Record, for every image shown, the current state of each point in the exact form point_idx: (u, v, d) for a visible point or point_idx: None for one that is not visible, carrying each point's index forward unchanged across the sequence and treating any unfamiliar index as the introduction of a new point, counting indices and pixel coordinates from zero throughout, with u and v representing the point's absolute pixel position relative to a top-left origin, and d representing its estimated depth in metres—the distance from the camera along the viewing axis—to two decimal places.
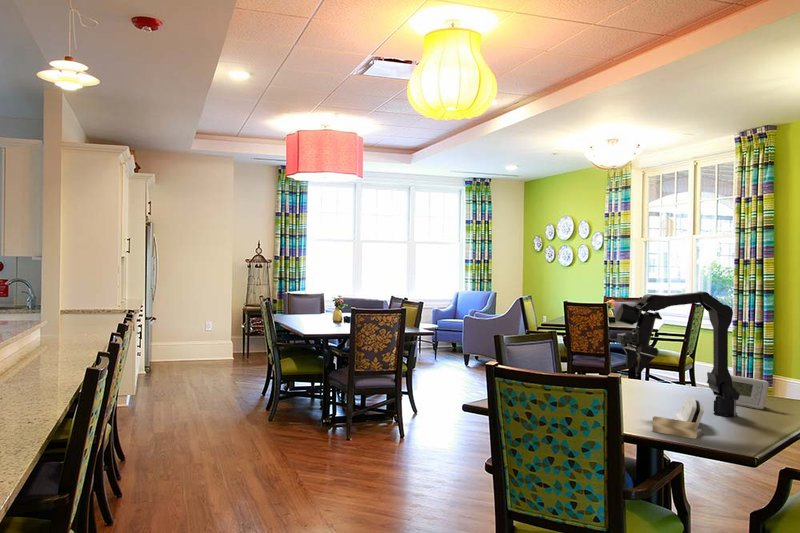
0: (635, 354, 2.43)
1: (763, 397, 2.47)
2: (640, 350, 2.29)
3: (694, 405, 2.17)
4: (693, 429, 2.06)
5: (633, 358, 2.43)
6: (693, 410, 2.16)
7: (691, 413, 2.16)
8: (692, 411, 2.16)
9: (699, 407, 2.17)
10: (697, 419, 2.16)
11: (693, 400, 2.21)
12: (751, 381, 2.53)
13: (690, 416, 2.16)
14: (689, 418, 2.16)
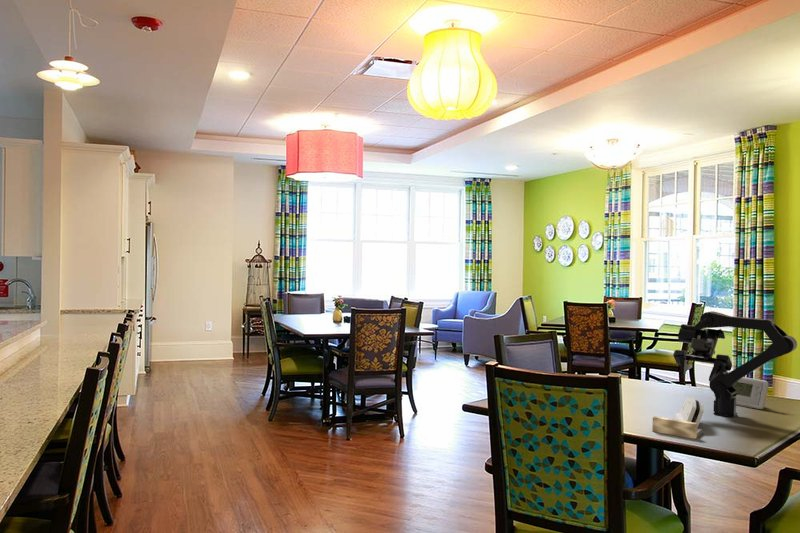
0: (686, 366, 2.40)
1: (762, 397, 2.47)
2: (724, 358, 2.29)
3: (694, 405, 2.18)
4: (693, 429, 2.06)
5: (685, 369, 2.39)
6: (693, 410, 2.16)
7: (691, 413, 2.16)
8: (692, 411, 2.16)
9: (699, 407, 2.17)
10: (697, 419, 2.16)
11: (693, 400, 2.21)
12: (751, 381, 2.53)
13: (690, 416, 2.16)
14: (689, 418, 2.16)
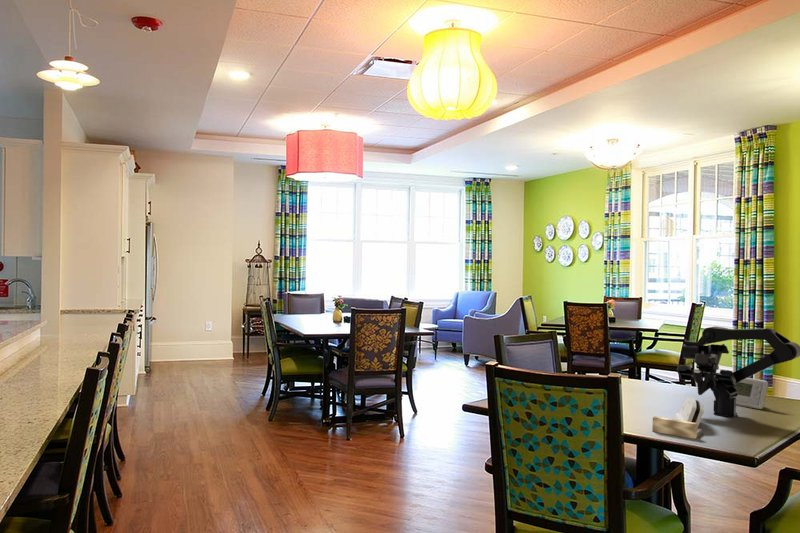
0: (703, 383, 2.36)
1: (762, 397, 2.47)
2: (728, 374, 2.29)
3: (694, 405, 2.18)
4: (693, 429, 2.06)
5: None
6: (693, 410, 2.16)
7: (691, 413, 2.16)
8: (692, 411, 2.16)
9: (699, 407, 2.17)
10: (697, 419, 2.16)
11: (693, 400, 2.21)
12: (751, 381, 2.53)
13: (690, 416, 2.16)
14: (689, 418, 2.16)
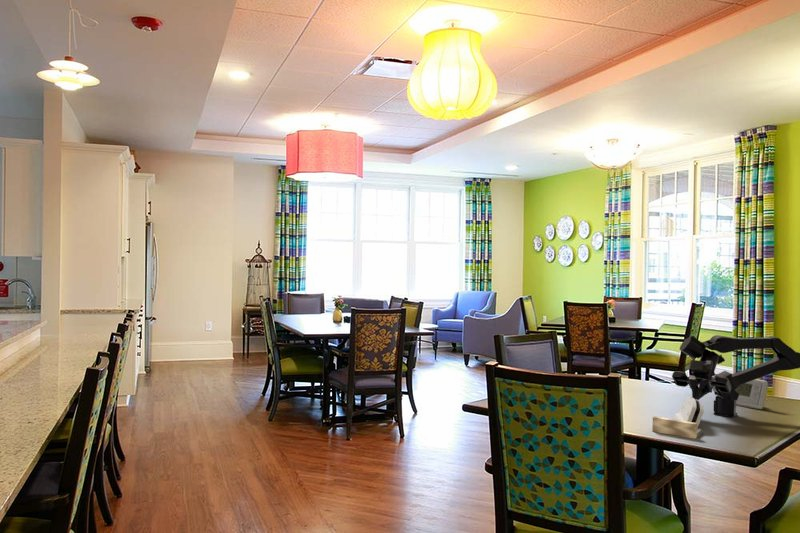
0: (698, 390, 2.34)
1: (762, 397, 2.47)
2: (723, 381, 2.26)
3: (694, 405, 2.17)
4: (693, 429, 2.06)
5: None
6: (693, 410, 2.16)
7: (691, 413, 2.16)
8: (692, 411, 2.16)
9: (699, 407, 2.17)
10: (697, 419, 2.15)
11: (693, 400, 2.21)
12: (750, 381, 2.53)
13: (690, 416, 2.16)
14: (689, 418, 2.16)
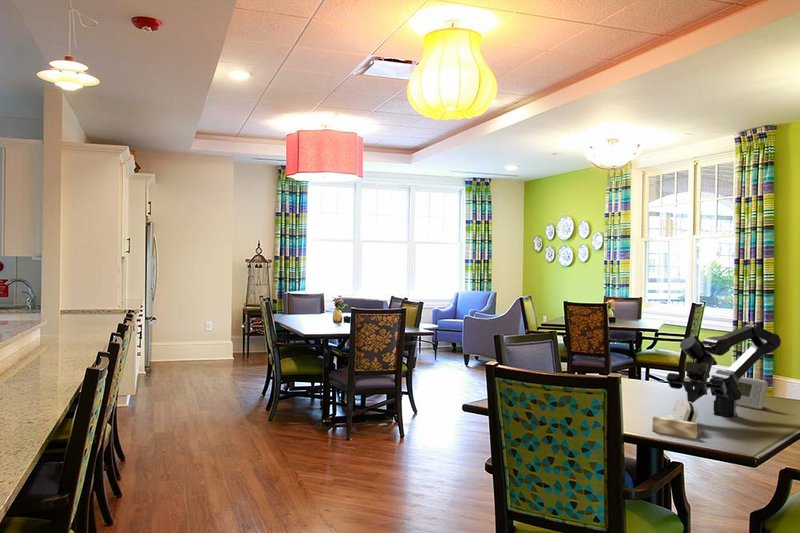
0: (693, 392, 2.29)
1: (761, 397, 2.48)
2: (718, 383, 2.22)
3: (688, 407, 2.14)
4: (693, 429, 2.06)
5: None
6: (687, 412, 2.13)
7: (685, 415, 2.13)
8: (686, 413, 2.13)
9: (693, 409, 2.14)
10: (691, 421, 2.13)
11: (686, 402, 2.18)
12: (750, 381, 2.53)
13: (684, 418, 2.13)
14: (683, 420, 2.13)
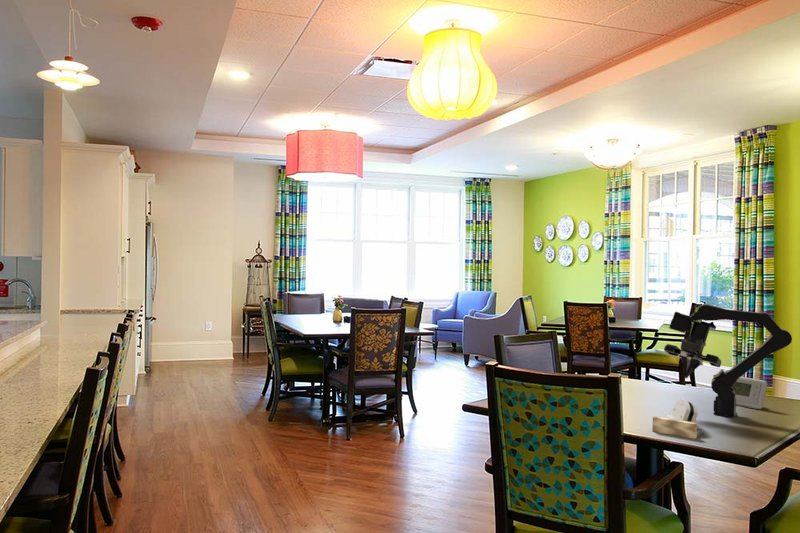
0: (689, 363, 2.41)
1: (761, 397, 2.48)
2: (713, 361, 2.32)
3: (688, 407, 2.14)
4: (693, 429, 2.06)
5: (688, 367, 2.41)
6: (687, 412, 2.13)
7: (685, 415, 2.13)
8: (686, 413, 2.13)
9: (693, 409, 2.14)
10: (691, 421, 2.13)
11: (686, 402, 2.18)
12: (750, 381, 2.53)
13: (684, 418, 2.13)
14: (683, 420, 2.13)
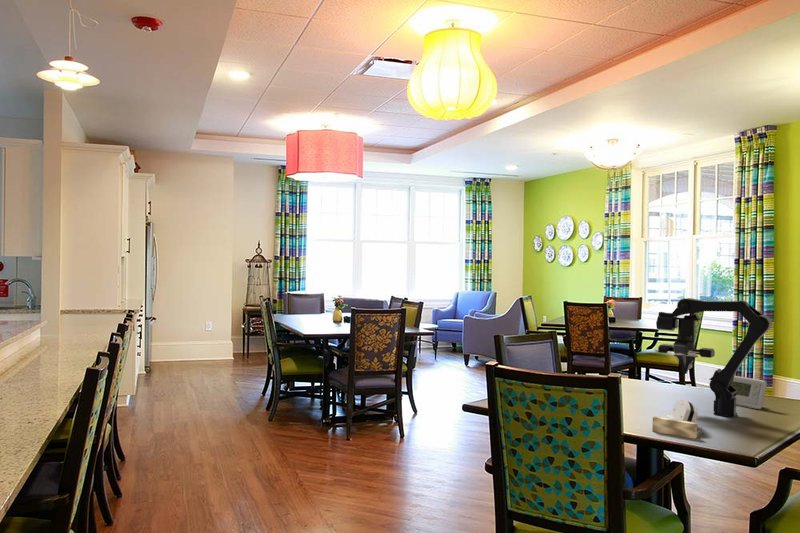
0: (685, 357, 2.48)
1: (761, 397, 2.48)
2: (707, 356, 2.39)
3: (688, 407, 2.14)
4: (693, 429, 2.06)
5: (685, 362, 2.48)
6: (687, 412, 2.13)
7: (685, 415, 2.13)
8: (686, 413, 2.13)
9: (693, 409, 2.15)
10: (691, 421, 2.13)
11: (686, 402, 2.18)
12: (749, 381, 2.53)
13: (684, 418, 2.13)
14: (683, 420, 2.13)
